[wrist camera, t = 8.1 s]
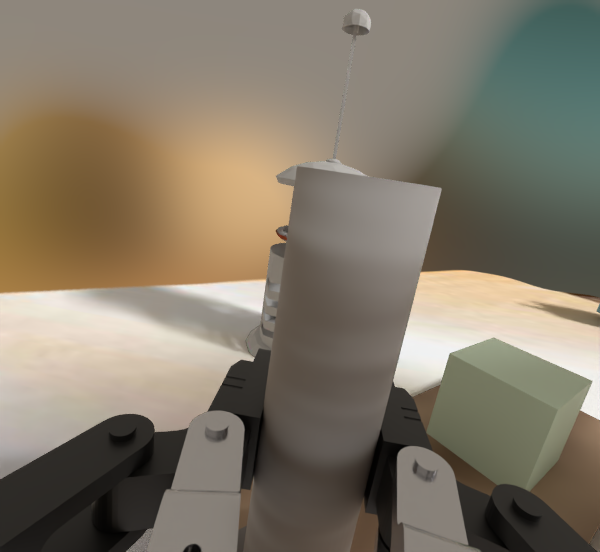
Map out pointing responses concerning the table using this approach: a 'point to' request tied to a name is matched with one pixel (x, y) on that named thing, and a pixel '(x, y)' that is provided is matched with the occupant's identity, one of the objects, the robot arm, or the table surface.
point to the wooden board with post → (359, 372)
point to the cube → (506, 411)
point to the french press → (263, 334)
